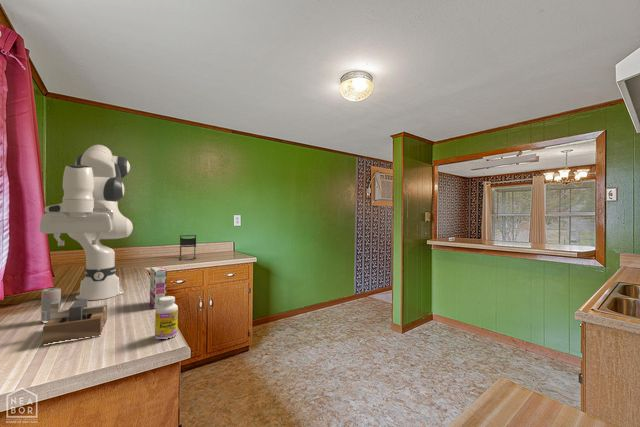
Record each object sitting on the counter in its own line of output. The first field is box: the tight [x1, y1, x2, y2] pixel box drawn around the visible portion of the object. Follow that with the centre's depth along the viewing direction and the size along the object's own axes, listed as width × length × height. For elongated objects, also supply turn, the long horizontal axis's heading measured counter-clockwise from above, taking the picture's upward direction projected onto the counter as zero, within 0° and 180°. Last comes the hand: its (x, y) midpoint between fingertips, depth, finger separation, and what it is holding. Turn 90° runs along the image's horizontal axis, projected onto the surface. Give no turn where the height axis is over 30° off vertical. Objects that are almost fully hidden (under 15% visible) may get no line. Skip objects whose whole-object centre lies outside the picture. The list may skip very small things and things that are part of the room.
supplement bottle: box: [154, 295, 179, 340], centre depth 94 cm, size 7×7×13 cm
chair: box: [179, 234, 197, 261], centre depth 249 cm, size 13×17×22 cm
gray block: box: [68, 299, 88, 322], centre depth 96 cm, size 10×3×8 cm, turn 31°
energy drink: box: [40, 287, 62, 322], centre depth 105 cm, size 5×5×12 cm
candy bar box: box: [149, 266, 168, 309], centre depth 125 cm, size 11×5×16 cm, turn 40°
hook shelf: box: [42, 302, 108, 345], centre depth 96 cm, size 16×14×11 cm
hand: (78, 245), depth 103 cm, fingers open, 8 cm apart
